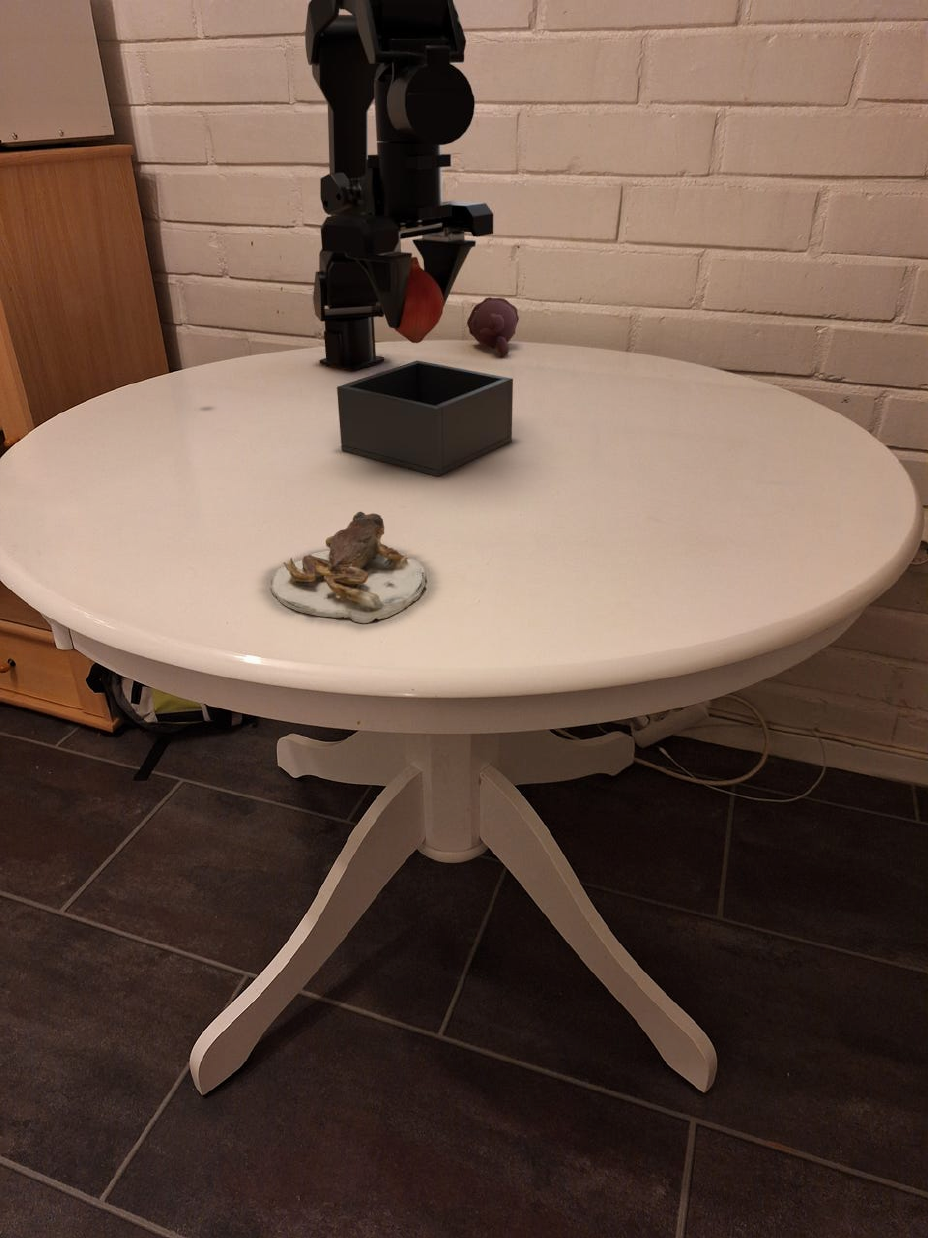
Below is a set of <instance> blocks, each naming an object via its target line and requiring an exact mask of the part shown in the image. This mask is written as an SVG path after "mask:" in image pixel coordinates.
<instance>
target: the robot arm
mask: <svg viewBox="0 0 928 1238" xmlns="http://www.w3.org/2000/svg"><path fill="white" fill-rule="evenodd" d="M457 9H458V8H457V6H456V4H455V3H454V0H310V1H309V3H308V5H307V12H306V22H305V31H304V32H305V34H304V44H305V54H306V59H307V64H308V66H311V74H312V77H313V79H314V81H315V83H316V85H317V86H318V88H319V90H320V92H321V94H322V96H323V98H324V99H325V101H326V103H327V130H328V131H327V132H328V161H329V162H328V165H329V169H328V170H329V173H327V174H326V175H324V176H322V177H321V178H320V179H319V180H320V181H319V182H320V185H319V186H320V188H319V189H320V193H319V194H320V195H319V196H320V201H321V205H322V209H323V211H324V213H325V214H327V215H329V216H327V217H325V219H324V221H323V222H322V224H321V226H320V239H321V249H320V250H319V254H318V262H319V263H318V264H319V268H318V269H319V271H317V270H316V271H315V275H314V285H313V295H312V302H313V310H314V315H315V316H316V318H317V319H318V321H320V322H324V331H323V340H324V351H325V352H324V353H325V357H324V358H321V359H319V360H318V361H319V362H318V363H319V365H324V366H329V367H333V368H339V369H342V370H343V369H344V370H348V371H356V370H360V369H363V368H366V367H367V368H368V367H370V366H374V365H376V364H380V363H383V362H385V356H382V355H377V353H376V350H377V349H376V333H375V318H385V320H386V323H387V326H388V327H389V328H391V329H394V328H395V329H397V328H399V327H400V324H401V320H402V316H403V311H404V304H405V298H406V291H407V284H408V278H409V272H410V265H411V259H412V257H413V253H412V252H405V251H402V242H401V240H403V239H410V238H413V239H412V243H413V244H414V247H415V248H416V249H417V251H418V252H419V254H420V256H421V258H422V261H423V270H424V271H426V272H427V273H428V274H430V275H431V276H432V277H433V279H434V280H435V281H436V282H437V284H438V286H439V287H440V289H441V292H442V295H443V302H444V306H443V308H444V307H445V305H446V303H447V300H448V298H449V296H450V293H451V291H452V289H453V286H454V284H455V281H456V279H457V277H458V276H459V273H460V271H461V269H462V267H463V265H464V264H465V261H466V259H467V258H468V255H469V253H470V251H471V249H472V248H475V247H476V244H477V240H474V239H466V237H465V236H466V235H465V234H466V233H470V234H471V235H472V237H484V236H489V235H494V213H493V211H492V210H491V208H490V207H489V205H488V203H486V202H473V201H456V200H447V201H443V189H442V187H443V183H442V168H447V167H448V168H449V167H452V155H451V153H442V146H444V145H449V144H452V143H454V142H456V141H457V140H459V139H460V138H461V137H462V136H463V135H464V134H465V133H466V132H467V131H468V129H469V127H470V126H471V124H472V120H473V118H474V114H475V105H476V102H475V95H474V93H473V90H472V86H471V83H470V82H469V80H468V78H467V76H466V75H465V74H464V73H463V72H462V70H460V69H459V68H458V67H456V66H455V65H456V64H457V65H458V64H463V63H464V62H465V50H466V46H467V39H466V35H465V32H464V29H463V26H462V23H461V19H460V16H459V13H458V10H457ZM340 10H345V11H346V12H347V13H349V14H340ZM454 64H455V65H454ZM373 103H374V112H375V113H374V114H375V115H374V117H375V137H376V154H368V113H369V110H370V108H371V106H372V105H373ZM416 237H420V238H416ZM414 238H415V239H414ZM326 307H327V308H326ZM395 329H394V330H395Z"/></svg>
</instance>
